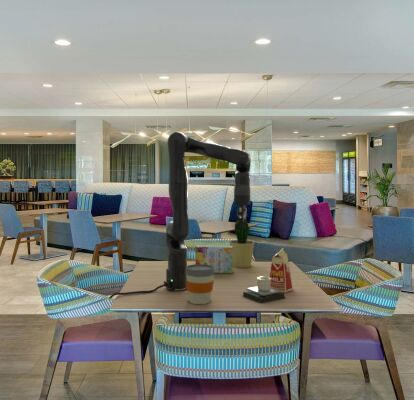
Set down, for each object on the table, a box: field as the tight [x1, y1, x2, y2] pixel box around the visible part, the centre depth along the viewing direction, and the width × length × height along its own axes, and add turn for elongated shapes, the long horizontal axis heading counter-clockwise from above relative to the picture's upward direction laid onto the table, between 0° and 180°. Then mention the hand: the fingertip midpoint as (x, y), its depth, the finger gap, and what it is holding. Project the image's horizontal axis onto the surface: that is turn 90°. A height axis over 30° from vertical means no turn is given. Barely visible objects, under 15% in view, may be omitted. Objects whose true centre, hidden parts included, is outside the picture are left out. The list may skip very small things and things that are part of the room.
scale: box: [242, 290, 286, 304], centre depth 183 cm, size 14×12×3 cm
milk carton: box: [268, 247, 294, 293], centre depth 195 cm, size 9×9×20 cm
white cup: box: [256, 276, 271, 291], centre depth 183 cm, size 6×6×5 cm
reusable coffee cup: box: [185, 263, 215, 305], centre depth 177 cm, size 13×13×15 cm
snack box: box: [194, 245, 234, 274], centre depth 232 cm, size 21×6×15 cm, turn 84°
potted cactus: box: [228, 219, 255, 269], centre depth 250 cm, size 15×15×30 cm
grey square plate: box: [246, 285, 282, 296], centre depth 183 cm, size 11×11×1 cm
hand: (241, 228), depth 189 cm, fingers open, 8 cm apart
